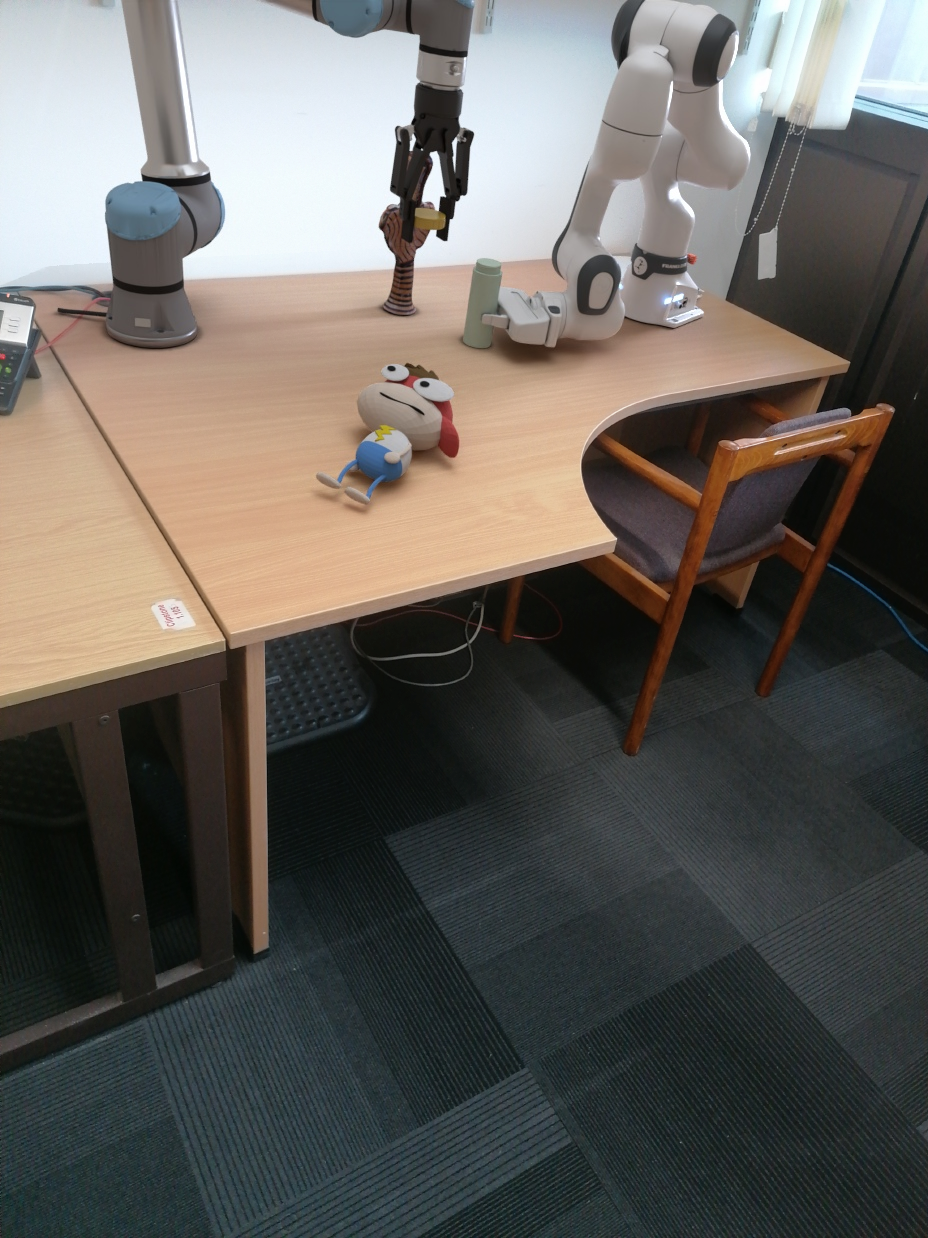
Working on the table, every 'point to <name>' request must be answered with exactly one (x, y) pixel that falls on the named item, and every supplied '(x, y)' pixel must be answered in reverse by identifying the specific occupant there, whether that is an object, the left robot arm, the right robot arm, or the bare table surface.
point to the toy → (399, 425)
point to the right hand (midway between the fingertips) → (477, 311)
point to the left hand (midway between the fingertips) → (424, 238)
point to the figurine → (404, 247)
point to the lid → (429, 219)
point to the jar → (482, 302)
